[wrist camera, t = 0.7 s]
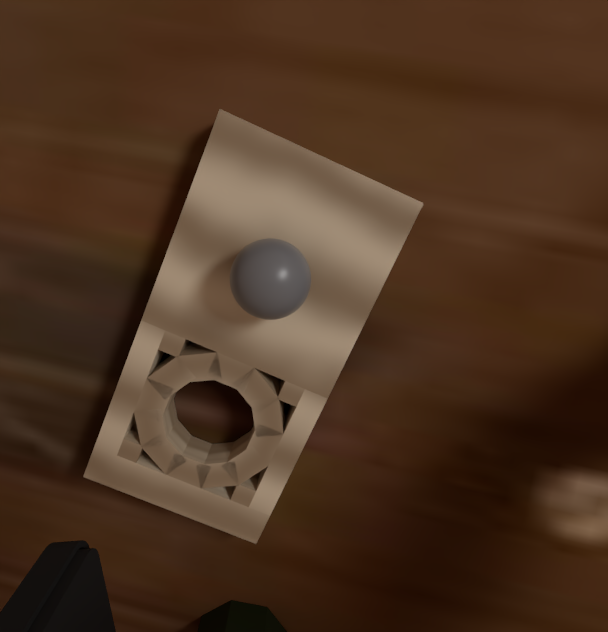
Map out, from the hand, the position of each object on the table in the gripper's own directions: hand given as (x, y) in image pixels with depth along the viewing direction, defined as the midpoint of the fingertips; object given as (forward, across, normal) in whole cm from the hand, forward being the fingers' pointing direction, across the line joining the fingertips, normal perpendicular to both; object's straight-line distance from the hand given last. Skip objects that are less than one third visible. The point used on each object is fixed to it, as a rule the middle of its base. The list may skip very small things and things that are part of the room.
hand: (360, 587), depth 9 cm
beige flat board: (+29, +6, +4) cm, 29 cm away
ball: (+23, +3, -2) cm, 23 cm away
